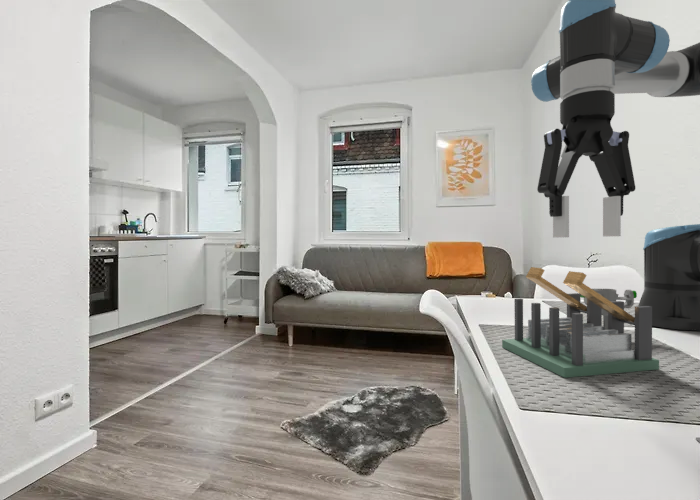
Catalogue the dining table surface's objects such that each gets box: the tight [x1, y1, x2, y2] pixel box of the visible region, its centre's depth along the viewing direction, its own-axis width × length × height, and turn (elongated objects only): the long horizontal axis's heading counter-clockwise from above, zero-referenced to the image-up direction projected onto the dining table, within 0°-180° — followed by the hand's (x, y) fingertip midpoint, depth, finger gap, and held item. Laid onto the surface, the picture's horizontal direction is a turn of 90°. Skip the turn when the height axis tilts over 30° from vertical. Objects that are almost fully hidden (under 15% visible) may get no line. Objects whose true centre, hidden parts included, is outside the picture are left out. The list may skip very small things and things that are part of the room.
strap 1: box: [525, 266, 587, 314], centre depth 74 cm, size 14×4×2 cm
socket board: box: [501, 337, 660, 379], centre depth 69 cm, size 17×17×2 cm
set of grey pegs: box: [514, 292, 653, 366], centre depth 69 cm, size 14×16×8 cm
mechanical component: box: [580, 288, 638, 330], centre depth 83 cm, size 3×10×10 cm, turn 79°
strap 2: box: [562, 270, 635, 326], centre depth 64 cm, size 14×4×2 cm
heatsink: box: [525, 316, 635, 364], centre depth 69 cm, size 9×15×4 cm, turn 10°
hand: (586, 236), depth 63 cm, fingers open, 9 cm apart
